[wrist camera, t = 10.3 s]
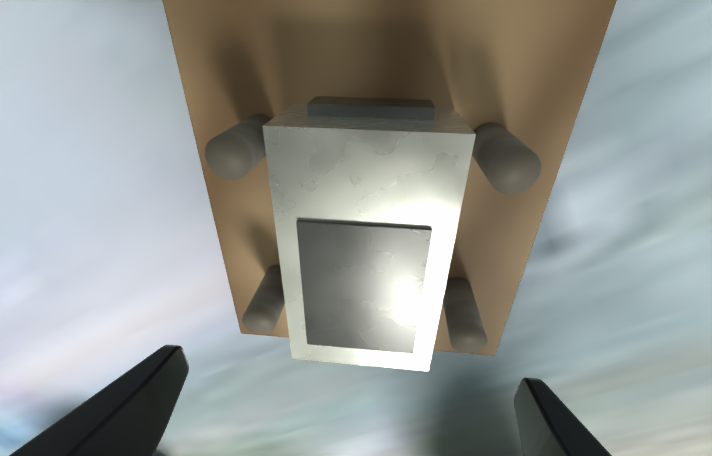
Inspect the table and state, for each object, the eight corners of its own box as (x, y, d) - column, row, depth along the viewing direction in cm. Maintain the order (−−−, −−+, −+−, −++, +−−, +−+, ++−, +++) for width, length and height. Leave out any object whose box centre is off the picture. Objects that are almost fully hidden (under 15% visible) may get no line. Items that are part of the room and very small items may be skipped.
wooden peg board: (598, -1, 12) (702, -19, 8) (489, 340, 21) (512, 412, 17) (178, -4, 13) (84, -20, 9) (248, 319, 22) (215, 382, 18)
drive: (456, 97, 13) (479, 121, 9) (422, 309, 19) (428, 374, 15) (294, 92, 13) (259, 113, 10) (310, 300, 19) (291, 361, 16)
